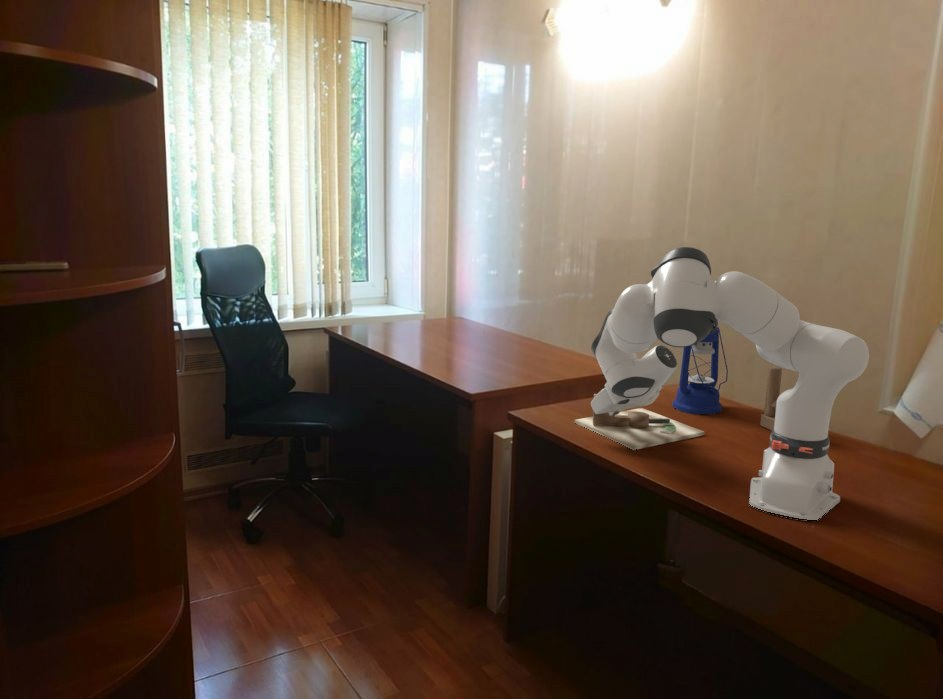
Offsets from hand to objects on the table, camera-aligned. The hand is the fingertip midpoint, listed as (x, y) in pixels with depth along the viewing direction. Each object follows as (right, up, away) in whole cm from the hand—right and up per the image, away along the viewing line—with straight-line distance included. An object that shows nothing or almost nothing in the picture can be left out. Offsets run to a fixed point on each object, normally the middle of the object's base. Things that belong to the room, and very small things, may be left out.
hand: (612, 412), depth 203 cm
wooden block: (+48, -6, +2) cm, 48 cm away
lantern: (+32, -1, +24) cm, 40 cm away
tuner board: (+8, -5, +3) cm, 10 cm away
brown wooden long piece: (+6, -4, +3) cm, 7 cm away
